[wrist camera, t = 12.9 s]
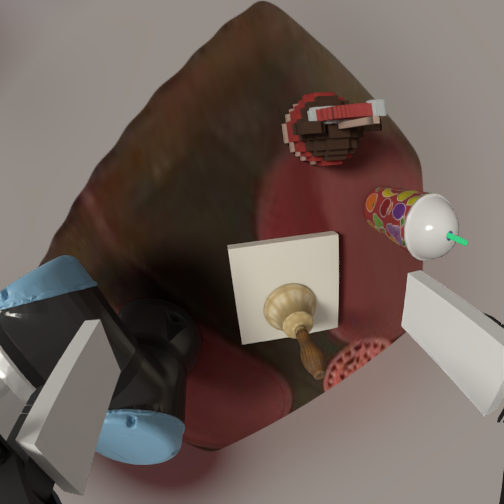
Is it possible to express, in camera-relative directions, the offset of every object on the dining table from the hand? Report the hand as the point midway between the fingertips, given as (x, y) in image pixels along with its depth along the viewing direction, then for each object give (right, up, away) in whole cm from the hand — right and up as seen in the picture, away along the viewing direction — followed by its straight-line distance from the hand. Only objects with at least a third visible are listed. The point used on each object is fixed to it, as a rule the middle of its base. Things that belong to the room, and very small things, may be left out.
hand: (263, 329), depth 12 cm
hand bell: (+5, -5, +34) cm, 35 cm away
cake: (+8, +20, +28) cm, 36 cm away
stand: (+5, -2, +35) cm, 35 cm away
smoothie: (+19, +10, +33) cm, 39 cm away
